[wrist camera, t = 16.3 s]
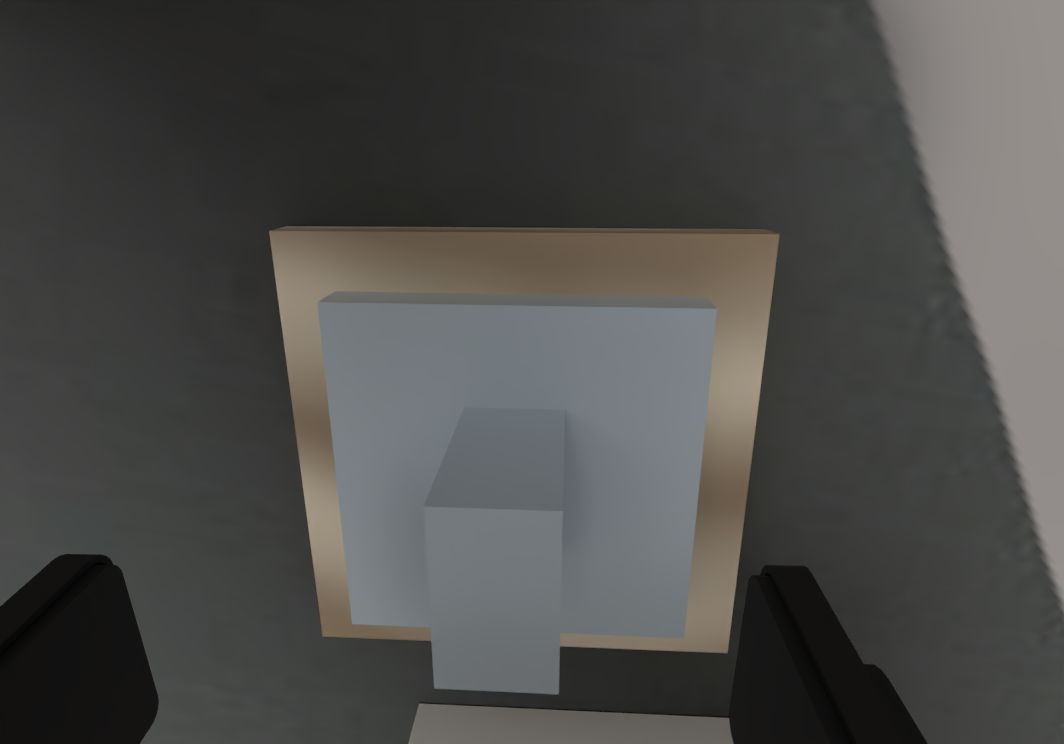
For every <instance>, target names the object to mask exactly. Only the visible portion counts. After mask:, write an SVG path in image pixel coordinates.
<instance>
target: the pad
mask: <svg viewBox="0 0 1064 744" xmlns="http://www.w3.org/2000/svg"><path fill="white" fill-rule="evenodd" d="M269 234H270V242H271V249H272V257H273V264H274V272H275V280H276V287H277V295H278V302H279V310H280V317H281V325H282V332H283V340H284V348H285V355H286V363H287V370H288V378H289V385H290V393H291V400H292V408H293V416H294V423H295V431H296V438H297V446H298V453H299V461H300V468H301V476H302V484H303V491H304V499H305V506H306V514H307V521H308V529H309V536H310V544H311V552H312V559H313V567H314V574H315V582H316V589H317V597H318V604H319V612H320V620H321V627H322V635H323V637H348V638H372V639H396V640H420V641H431V628H430V627H407V626H384V625H361V624H352V619H351V609H350V600H349V591H348V582H347V572H346V563H345V554H344V545H343V535H342V526H341V517H340V508H339V498H338V489H337V480H336V471H335V462H334V452H333V443H332V434H331V425H330V415H329V406H328V397H327V388H326V378H325V369H324V360H323V351H322V341H321V332H320V323H319V314H318V305H317V302H318V301H320V300H322V299H323V298H325V297H327V296H328V295H330V294H332V293H333V292H335V291H352V292H416V293H480V294H544V295H607V296H671V297H707V298H708V299H709V301H710V302H711V303H712V304H713V305H714V306H715V307H716V308H717V315H716V325H715V335H714V345H713V355H712V365H711V375H710V385H709V395H708V405H707V415H706V425H705V434H704V444H703V454H702V464H701V474H700V484H699V494H698V504H697V514H696V524H695V534H694V544H693V554H692V564H691V574H690V584H689V594H688V604H687V614H686V624H685V634H684V638H661V637H638V636H615V635H592V634H568V633H560V646H565V647H589V648H613V649H638V650H662V651H686V652H710V653H728V646H729V638H730V630H731V621H732V613H733V605H734V597H735V589H736V581H737V573H738V565H739V557H740V549H741V541H742V533H743V525H744V517H745V509H746V501H747V492H748V484H749V476H750V468H751V460H752V452H753V444H754V436H755V428H756V420H757V412H758V404H759V396H760V388H761V380H762V372H763V363H764V355H765V347H766V339H767V331H768V323H769V315H770V307H771V299H772V291H773V283H774V275H775V267H776V259H777V251H778V243H779V235H780V234H778V233H775V232H773V231H770V230H768V229H663V228H502V227H341V226H285V227H282V228H278V229H274V230H270V231H269Z"/></svg>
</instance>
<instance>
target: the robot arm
mask: <svg viewBox="0 0 1064 744" xmlns="http://www.w3.org/2000/svg"><path fill="white" fill-rule="evenodd" d="M158 702H159V700H158V694H157V691H156V688H155V684H154V681H153V677H152V674H151V670H150V667H149V663H148V660H147V656H146V653H145V649H144V646H143V643H142V639H141V636H140V632H139V629H138V625H137V622H136V618H135V615H134V611H133V608H132V604H131V601H130V597H129V594H128V591H127V587H126V584H125V580H124V577H123V573H122V571H121V569H120V568H119V567H118V566H116V565H113V563H112V561H111V559H109V558H108V557H107V556H104V555H86V554H65V555H61V556H59V557H57V558H55V559H54V560H53V561H51V562H50V563H49V564H48V565H47V566H46V567H45V568H43V569H42V570H41V571H40V572H39V573H38V574H37V575H36V576H34V577H33V578H32V579H31V580H30V581H29V582H28V583H27V584H25V585H24V586H23V587H22V588H21V589H20V590H19V591H18V592H16V593H15V594H14V595H13V596H12V597H11V598H10V599H8V600H7V601H6V602H5V603H4V604H3V605H2V606H1V607H0V744H140V742H141V741H142V739H143V738H144V736H145V735H146V733H147V732H148V730H149V729H150V727H151V725H152V724H153V722H154V720H155V717H156V714H157V710H158ZM729 722H730V730H731V735H732V740H733V743H734V744H927V742H926V741H925V739H924V737H923V736H922V734H921V732H920V731H919V729H918V727H917V726H916V724H915V722H914V721H913V719H912V717H911V716H910V714H909V712H908V711H907V709H906V707H905V706H904V704H903V702H902V701H901V699H900V697H899V696H898V694H897V692H896V691H895V689H894V687H893V686H892V684H891V682H890V681H889V679H888V678H887V677H886V675H885V674H884V673H883V671H882V670H881V669H879V668H878V667H876V666H875V665H870V664H863V662H862V661H861V659H860V657H859V655H858V654H857V652H856V650H855V648H854V647H853V645H852V643H851V641H850V640H849V638H848V636H847V634H846V633H845V631H844V629H843V627H842V626H841V624H840V622H839V621H838V619H837V617H836V615H835V614H834V612H833V610H832V608H831V607H830V605H829V603H828V601H827V600H826V598H825V596H824V594H823V593H822V591H821V589H820V587H819V586H818V584H817V582H816V580H815V579H814V577H813V575H812V573H811V572H810V571H809V569H808V568H807V567H805V566H778V565H766V566H764V567H763V569H762V571H761V575H760V576H758V575H753V576H751V577H750V579H749V582H748V588H747V595H746V602H745V608H744V615H743V622H742V629H741V635H740V642H739V649H738V655H737V662H736V669H735V675H734V682H733V689H732V695H731V702H730V709H729Z"/></svg>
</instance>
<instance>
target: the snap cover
mask: <svg viewBox="0 0 1064 744" xmlns="http://www.w3.org/2000/svg"><path fill="white" fill-rule="evenodd" d="M317 305H318V314H319V323H320V332H321V341H322V351H323V360H324V369H325V378H326V388H327V397H328V406H329V415H330V425H331V434H332V443H333V452H334V462H335V471H336V480H337V489H338V498H339V508H340V517H341V526H342V535H343V545H344V554H345V563H346V572H347V582H348V591H349V600H350V609H351V619H352V624H361V625H384V626H407V627H430V628H431V644H432V660H433V677H434V688H435V689H455V690H476V691H497V692H517V693H538V694H559V666H560V633H568V634H592V635H615V636H638V637H661V638H684V634H685V624H686V614H687V604H688V594H689V584H690V574H691V564H692V554H693V544H694V534H695V524H696V514H697V504H698V494H699V484H700V474H701V464H702V454H703V444H704V434H705V425H706V415H707V405H708V395H709V385H710V375H711V365H712V355H713V345H714V335H715V325H716V315H717V308H716V307H715V306H714V305H713V304H712V303H711V302H710V301H709V299H708V298H707V297H671V296H607V295H544V294H480V293H416V292H352V291H335V292H333V293H332V294H330V295H328V296H327V297H325V298H323V299H322V300H320V301H318V302H317Z"/></svg>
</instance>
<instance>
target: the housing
mask: <svg viewBox="0 0 1064 744" xmlns="http://www.w3.org/2000/svg"><path fill="white" fill-rule="evenodd" d="M408 744H734V743H733V740H732V735H731V730H730V722H729V718H719V717H697V716H676V715H655V714H633V713H612V712H590V711H569V710H548V709H526V708H505V707H483V706H462V705H441V704H419V706H418V709H417V713H416V717H415V720H414V724H413V728H412V731H411V735H410V738H409V742H408Z"/></svg>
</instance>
